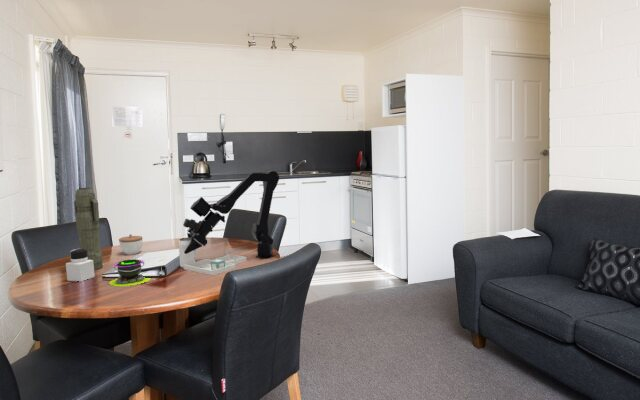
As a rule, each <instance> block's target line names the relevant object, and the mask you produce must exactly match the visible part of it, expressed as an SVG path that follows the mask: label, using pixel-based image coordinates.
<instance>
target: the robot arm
mask: <svg viewBox="0 0 640 400" xmlns="http://www.w3.org/2000/svg"><path fill="white" fill-rule="evenodd" d="M279 181H280V174H279V173H278V172H277V171H274V170H266V171H264V172H253V171H252V172H249V173H248V174H247V175H246V177H245V178H244V179H243V180H241V182H240V183H239V184H238V185H237V186H236V187H235V188H233V190H231V192H230V193H228V194H226V195H225V196H223V197H222V198H219V200H218V201H216V202H215V203H211V204H209V202H208V201H206V199H204V197H202V196H201V197H199V198H198V199H197V200H195V201H194V202H193V203H192V204H191V206H190V207H189V208H190V209H191V211H193V212H194V213H195V214H196V215H198V216H199V217H200V218H201V217H203V219H202V220H199V221H197V222H196V220H195V219H192V218H191V219H189V218H185V220H184V222H183V225H182V226H183V227H184V228H188V229H187V233H186V234H187V238H191V242H190V244H189V245H188V247H187V248H186V250H185V252H184V253H185V254H187V253H189V252H191V251H193V250H195V251H196V250H197V249H199V248H202V247H205V246H207V244H208V239H207V237H208V235H209V234H210V233H212V232H213V229H214V228H215V227H216V225H218V224H219V222H222V223H225V222H226V220H225V219H226V216H225V215H227V214H228V213H230V211H232V209H233V207H234V206H235V204H236V203H237V201H238V200H239V199H240V198H241V197H242V196H243V194H244V193H245V192H247V190H248V189H249V188H250V187H251V186H252V185H254V183H256V182H262V187H263V192H262V197H261V203H260V208H259V213H258V218H257V221H256V223H255V222H254V223H253V222H252V228H251V231H250V233H251V234H252V237H253V238H254V239H255V240H256V242H257V248H256V249H257V254H256V255H255V258H261V259H269V258H271V257H275V256H276V254H275V253H273V243H274V238H272V237H271V236H270V235H269V224H268V223H269V222H268V220H269V216H270V212H271V206H272V200H273V194H274V192H275V189H276V188H277V185H278V183H279ZM214 211H215V212H214ZM221 214H222V215H221Z"/></svg>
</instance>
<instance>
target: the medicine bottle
mask: <svg viewBox="0 0 640 400" xmlns="http://www.w3.org/2000/svg"><path fill="white" fill-rule="evenodd" d="M69 255H70V256H69V258H70V261H69V262H65V270H66V278H67V279H66V281H68V282H77V281H79V282H80V283H82V282H85V281H86V280H87V279H88V280H91V279H93V278H95V277H96V275H95V270H94V264H93V260H87V259H88V255H87V250H86V249H80V248H76V249H72V250H70V252H69ZM84 280H85V281H84ZM81 281H82V282H81Z"/></svg>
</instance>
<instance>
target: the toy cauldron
mask: <svg viewBox="0 0 640 400" xmlns="http://www.w3.org/2000/svg"><path fill="white" fill-rule="evenodd" d="M122 255H123V256H125V253H124V252H122ZM127 256H130V255H127ZM136 256H137V257H140V255H138V254H136ZM119 258H121V257H120V256H119V257H118V262H116V263H114V264H112V266H113V268H114V270H116V271H117V274H118V277H117V278H118V279H117V278H115V280H114V279H112V280H110V281H109V285H110V286H112V285H113V287H131V286H130V285H132V286H138V285H141V283H142V284H144V282H145V283H147V282H149V281H150V280H151V278H145V277H143V275H144V274H143V275H142V274H141V271H142V268H143V267H144V266H145V261H144V259H143V260H142V259H136V257H135V258H133V257H131V259H123V260H121V259H119ZM120 260H121V261H120ZM116 267H117V268H116ZM137 277H138V278H137ZM137 284H138V285H137Z"/></svg>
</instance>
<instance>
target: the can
mask: <svg viewBox="0 0 640 400" xmlns="http://www.w3.org/2000/svg"><path fill="white" fill-rule="evenodd" d="M190 242H191V238H188V237H181V238H179V242H178V252H179V253H178V254H179V266H180V268H184V265H185V264H189V263H193V262H197V261H196V249H195V250H193V251H191V252H189V253H187V254H185V253H184V252H185V250H186V248H187V247H188V245H189V244H190Z"/></svg>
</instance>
